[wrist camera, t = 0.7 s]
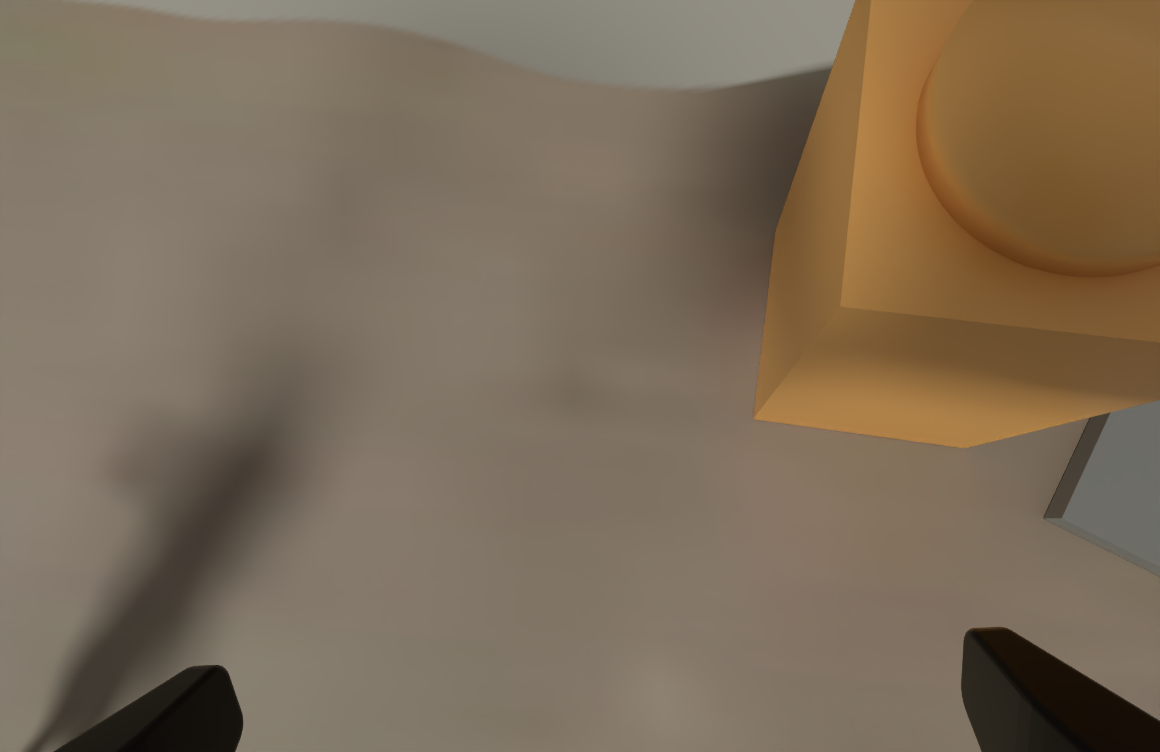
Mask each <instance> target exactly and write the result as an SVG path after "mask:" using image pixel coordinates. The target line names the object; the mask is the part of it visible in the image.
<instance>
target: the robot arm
mask: <svg viewBox="0 0 1160 752" xmlns="http://www.w3.org/2000/svg"><path fill="white" fill-rule="evenodd" d="M961 691H962V698H963V703H964V706H965V709H966V712H967V715H968V717H969V720H970V723H971V725H972V728H973V730H974V733H975V736H976V738H977V741H978V743H979V746H980V749H981V751H982V752H1160V721H1159V720H1158V719H1156V718H1154V717H1153V716H1151V715H1149V714H1148V713H1146V712H1145V711H1143V710H1141V709H1140V708H1138V707H1136V706H1135V705H1133V704H1131V703H1130V702H1128V701H1126V700H1125V699H1123V698H1122V697H1120V696H1118V695H1117V694H1115V693H1113V692H1112V691H1110V690H1108V689H1107V688H1105V687H1104V686H1102V685H1100V684H1099V683H1097V682H1095V681H1094V680H1092V679H1090V678H1089V677H1087V676H1085V675H1084V674H1082V673H1081V672H1079V671H1077V670H1076V669H1074V668H1072V667H1071V666H1069V665H1067V664H1066V663H1064V662H1062V661H1061V660H1059V659H1058V658H1056V657H1054V656H1053V655H1051V654H1049V653H1048V652H1046V651H1044V650H1043V649H1041V648H1040V647H1038V646H1036V645H1035V644H1033V643H1031V642H1030V641H1028V640H1026V639H1025V638H1023V637H1021V636H1020V635H1018V634H1017V633H1015V632H1013V631H1011V630H1009V629H1007V628H1004V627H987V628H972V629H970V630H968V631H967V632H966V634H965V637H964V644H963V662H962V679H961ZM242 730H243V715H242V711H241V708H240V705H239V702H238V699H237V697H236V694H235V691H234V688H233V685H232V682H231V679H230V676H229V673H228V671H227V670H226V669H225V668H224V667H223V666H220V665H205V666H193V667H189V668H187V669H185V670H183V671H182V672H180V673H179V674H177V675H175V676H174V677H172V678H171V679H169V680H167V681H166V682H164V683H163V684H161V685H159V686H158V687H156V688H155V689H153V690H151V691H150V692H148V693H147V694H145V695H143V696H142V697H140V698H139V699H137V700H135V701H134V702H132V703H131V704H129V705H127V706H126V707H124V708H123V709H121V710H119V711H118V712H116V713H115V714H113V715H111V716H110V717H108V718H107V719H105V720H103V721H102V722H100V723H99V724H97V725H95V726H94V727H92V728H91V729H89V730H87V731H86V732H84V733H83V734H81V735H79V736H78V737H76V738H75V739H73V740H71V741H70V742H68V743H67V744H65V745H63V746H62V747H60V748H59V749H57V750H55V751H54V752H235V751H236V748H237V746H238V743H239V740H240V738H241V734H242Z"/></svg>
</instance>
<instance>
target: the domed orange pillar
mask: <svg viewBox="0 0 1160 752" xmlns="http://www.w3.org/2000/svg"><path fill="white" fill-rule="evenodd" d="M1159 400H1160V0H856V1H855V3H854V6H853V9H852V12H851V15H850V18H849V21H848V24H847V26H846V29H845V32H844V35H843V38H842V41H841V44H840V47H839V50H838V52H837V55H836V58H835V61H834V64H833V67H832V70H831V73H830V75H829V78H828V81H827V84H826V87H825V90H824V93H823V96H822V99H821V101H820V104H819V107H818V110H817V113H816V116H815V119H814V122H813V124H812V127H811V130H810V133H809V136H808V139H807V142H806V145H805V148H804V150H803V153H802V156H801V159H800V162H799V165H798V168H797V171H796V173H795V176H794V179H793V182H792V185H791V188H790V191H789V194H788V197H787V199H786V202H785V205H784V208H783V211H782V214H781V217H780V220H779V222H778V225H777V228H776V231H775V239H774V247H773V256H772V264H771V272H770V281H769V289H768V298H767V306H766V314H765V323H764V331H763V340H762V348H761V357H760V365H759V373H758V382H757V390H756V399H755V407H754V415H753V419H756V420H763V421H770V422H777V423H785V424H792V425H799V426H806V427H814V428H821V429H828V430H835V431H843V432H850V433H857V434H864V435H872V436H879V437H886V438H893V439H901V440H908V441H915V442H922V443H930V444H937V445H944V446H951V447H959V448H968V447H972V446H976V445H980V444H984V443H988V442H992V441H996V440H1000V439H1004V438H1008V437H1012V436H1017V435H1021V434H1025V433H1029V432H1033V431H1037V430H1041V429H1045V428H1049V427H1053V426H1057V425H1061V424H1065V423H1069V422H1073V421H1077V420H1081V419H1086V418H1090V417H1094V416H1098V415H1102V414H1106V413H1110V412H1114V411H1118V410H1122V409H1126V408H1130V407H1134V406H1138V405H1142V404H1146V403H1151V402H1155V401H1159Z"/></svg>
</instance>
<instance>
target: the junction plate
mask: <svg viewBox="0 0 1160 752" xmlns="http://www.w3.org/2000/svg"><path fill="white" fill-rule="evenodd" d="M1044 519H1046V520H1048V521H1050V522H1052V523H1054V524H1056V525H1058V526H1060V527H1062V528H1064V529H1066V530H1068V531H1070V532H1072V533H1074V534H1076V535H1078V536H1080V537H1082V538H1084V539H1086V540H1088V541H1090V542H1092V543H1094V544H1096V545H1098V546H1100V547H1102V548H1104V549H1106V550H1108V551H1110V552H1112V553H1114V554H1116V555H1118V556H1120V557H1122V558H1124V559H1126V560H1128V561H1130V562H1132V563H1134V564H1136V565H1138V566H1140V567H1142V568H1144V569H1146V570H1148V571H1150V572H1152V573H1154V574H1156V575H1158V576H1160V400H1159V401H1155V402H1151V403H1146V404H1142V405H1138V406H1134V407H1130V408H1126V409H1122V410H1118V411H1114V412H1110V413H1106V414H1102V415H1098V416H1094V417H1090V419H1089V422H1088V424H1087V426H1086V428H1085V430H1084V432H1083V434H1082V437H1081V439H1080V441H1079V443H1078V445H1077V447H1076V449H1075V452H1074V454H1073V456H1072V458H1071V460H1070V462H1069V465H1068V467H1067V469H1066V471H1065V473H1064V475H1063V477H1062V480H1061V482H1060V484H1059V486H1058V488H1057V490H1056V492H1055V495H1054V497H1053V499H1052V501H1051V503H1050V505H1049V507H1048V510H1047V512H1046V514H1045V516H1044Z"/></svg>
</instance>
